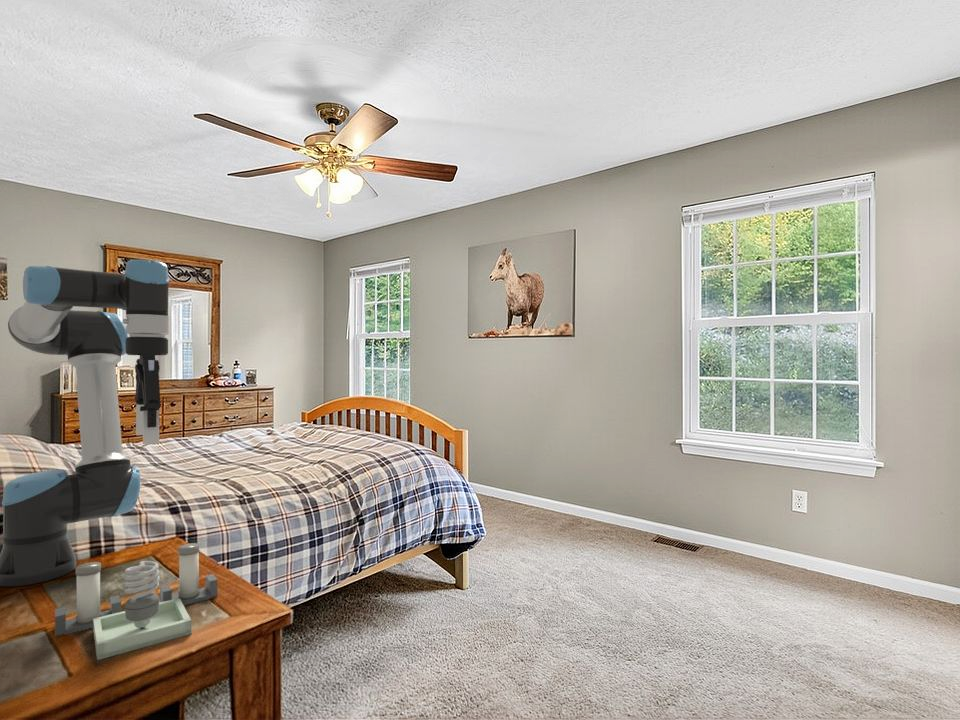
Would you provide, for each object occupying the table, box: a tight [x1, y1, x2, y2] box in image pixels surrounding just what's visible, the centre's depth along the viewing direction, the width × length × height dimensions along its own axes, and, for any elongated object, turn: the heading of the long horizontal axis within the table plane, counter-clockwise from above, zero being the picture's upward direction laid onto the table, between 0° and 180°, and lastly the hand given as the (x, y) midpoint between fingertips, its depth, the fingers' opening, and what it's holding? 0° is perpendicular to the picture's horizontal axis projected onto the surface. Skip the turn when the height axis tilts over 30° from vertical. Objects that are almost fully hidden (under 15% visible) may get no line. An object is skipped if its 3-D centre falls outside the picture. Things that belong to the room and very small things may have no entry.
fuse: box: [75, 561, 102, 625], centre depth 103 cm, size 4×4×10 cm
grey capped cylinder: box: [177, 542, 200, 600], centre depth 114 cm, size 4×4×10 cm
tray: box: [92, 598, 192, 661], centre depth 100 cm, size 12×14×2 cm
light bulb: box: [123, 560, 161, 629], centre depth 100 cm, size 6×6×12 cm
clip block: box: [54, 573, 218, 637], centre depth 109 cm, size 5×27×4 cm, turn 128°
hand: (147, 439), depth 113 cm, fingers open, 13 cm apart
